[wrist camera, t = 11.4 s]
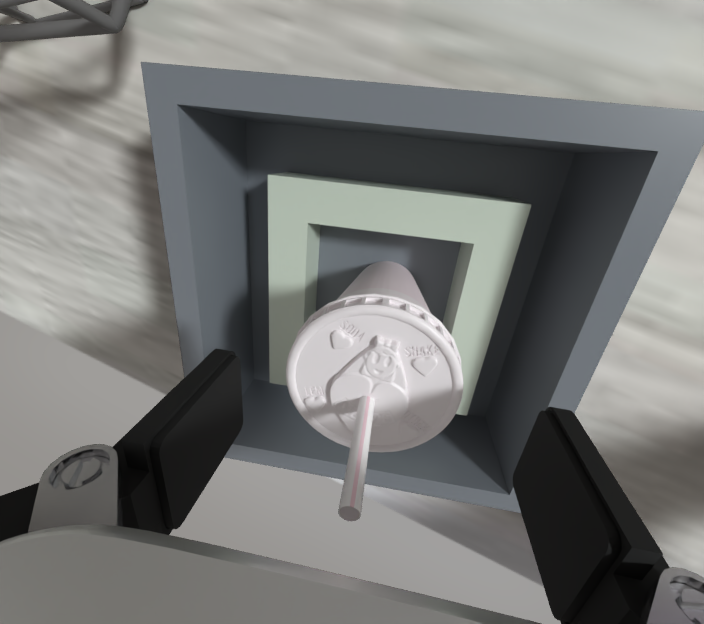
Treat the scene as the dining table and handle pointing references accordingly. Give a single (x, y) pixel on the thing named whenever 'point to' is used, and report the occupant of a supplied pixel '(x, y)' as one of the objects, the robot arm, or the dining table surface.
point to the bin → (409, 243)
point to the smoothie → (375, 372)
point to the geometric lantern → (66, 20)
